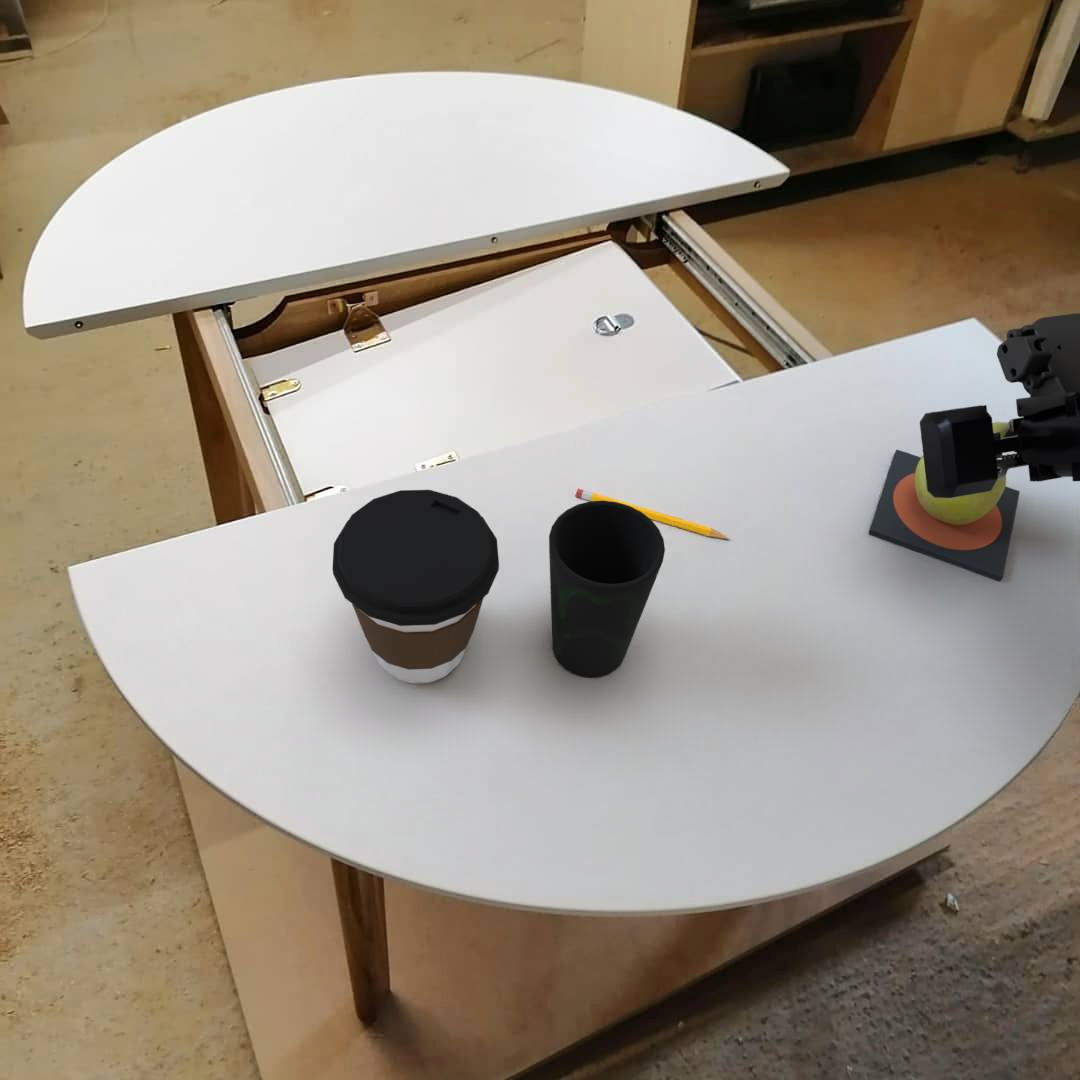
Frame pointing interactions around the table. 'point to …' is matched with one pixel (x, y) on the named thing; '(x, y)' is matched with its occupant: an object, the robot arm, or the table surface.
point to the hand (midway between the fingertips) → (968, 442)
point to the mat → (942, 524)
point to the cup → (600, 583)
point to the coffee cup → (416, 579)
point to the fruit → (962, 506)
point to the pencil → (657, 516)
